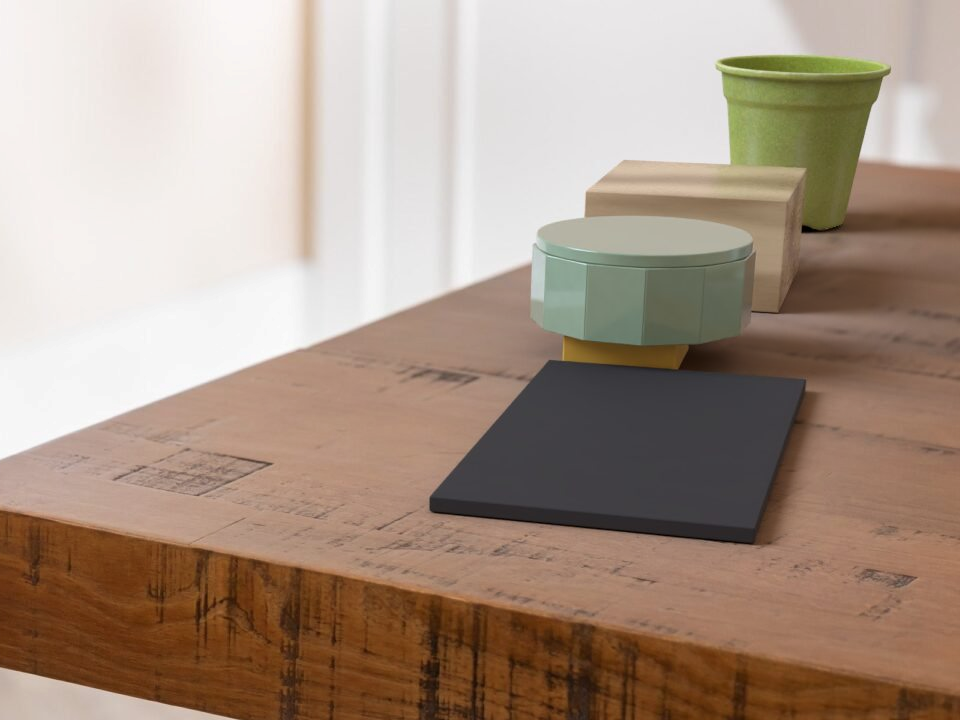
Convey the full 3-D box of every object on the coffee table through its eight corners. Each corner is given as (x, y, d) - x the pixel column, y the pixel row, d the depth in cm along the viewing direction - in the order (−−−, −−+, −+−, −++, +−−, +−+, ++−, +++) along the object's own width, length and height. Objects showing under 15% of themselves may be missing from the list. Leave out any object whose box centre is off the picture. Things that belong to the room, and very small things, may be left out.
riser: (618, 259, 95) (623, 159, 93) (798, 269, 93) (807, 167, 91) (580, 300, 86) (585, 190, 84) (778, 313, 84) (787, 200, 82)
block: (566, 256, 73) (561, 369, 75) (682, 263, 72) (674, 377, 73) (585, 236, 77) (580, 343, 79) (695, 242, 76) (688, 350, 77)
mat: (548, 371, 74) (548, 359, 74) (805, 391, 71) (806, 378, 71) (428, 511, 58) (429, 496, 58) (753, 544, 55) (754, 528, 55)
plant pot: (903, 220, 105) (920, 61, 102) (827, 245, 99) (843, 75, 95) (754, 202, 111) (766, 51, 108) (673, 224, 104) (683, 63, 101)
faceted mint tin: (566, 257, 70) (562, 349, 71) (785, 252, 71) (778, 341, 73) (515, 217, 78) (512, 300, 79) (713, 213, 79) (707, 295, 80)
